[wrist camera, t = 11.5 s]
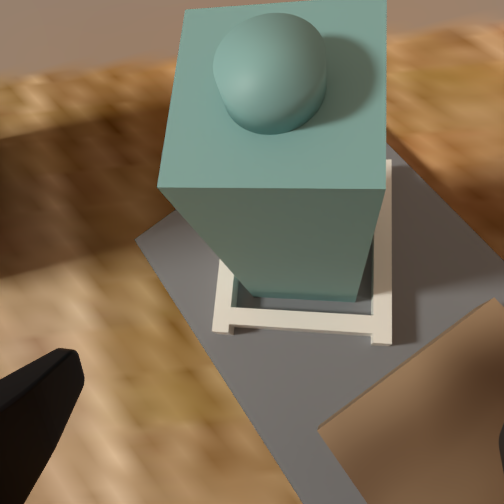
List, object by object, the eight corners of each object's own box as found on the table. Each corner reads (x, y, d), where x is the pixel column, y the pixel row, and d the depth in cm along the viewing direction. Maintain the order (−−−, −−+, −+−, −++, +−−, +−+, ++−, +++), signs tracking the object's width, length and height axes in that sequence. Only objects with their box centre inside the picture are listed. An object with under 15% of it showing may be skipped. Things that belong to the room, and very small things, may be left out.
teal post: (355, 302, 21) (391, 166, 8) (253, 296, 22) (138, 166, 9) (357, 206, 23) (391, -45, 9) (261, 204, 24) (171, -25, 10)
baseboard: (617, 392, 19) (654, 393, 17) (363, 587, 19) (367, 615, 17) (336, 105, 26) (337, 78, 24) (143, 245, 25) (124, 232, 23)
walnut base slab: (581, 422, 18) (618, 428, 16) (409, 555, 18) (421, 581, 16) (475, 307, 20) (494, 297, 18) (318, 425, 20) (317, 430, 18)
